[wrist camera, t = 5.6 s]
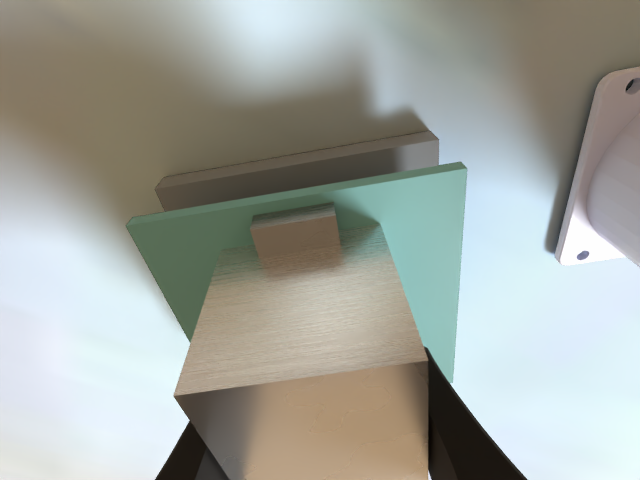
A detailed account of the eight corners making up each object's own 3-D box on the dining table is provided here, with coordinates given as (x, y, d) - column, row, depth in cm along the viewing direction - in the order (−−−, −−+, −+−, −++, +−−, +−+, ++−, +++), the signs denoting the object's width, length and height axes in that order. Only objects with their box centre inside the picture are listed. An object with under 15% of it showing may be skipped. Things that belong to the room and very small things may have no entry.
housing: (378, 194, 10) (428, 323, 6) (394, 394, 16) (427, 534, 12) (210, 222, 11) (151, 364, 6) (284, 410, 16) (278, 551, 12)
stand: (430, 130, 13) (467, 168, 10) (429, 322, 18) (452, 382, 16) (163, 177, 14) (125, 225, 11) (240, 349, 19) (228, 412, 16)
